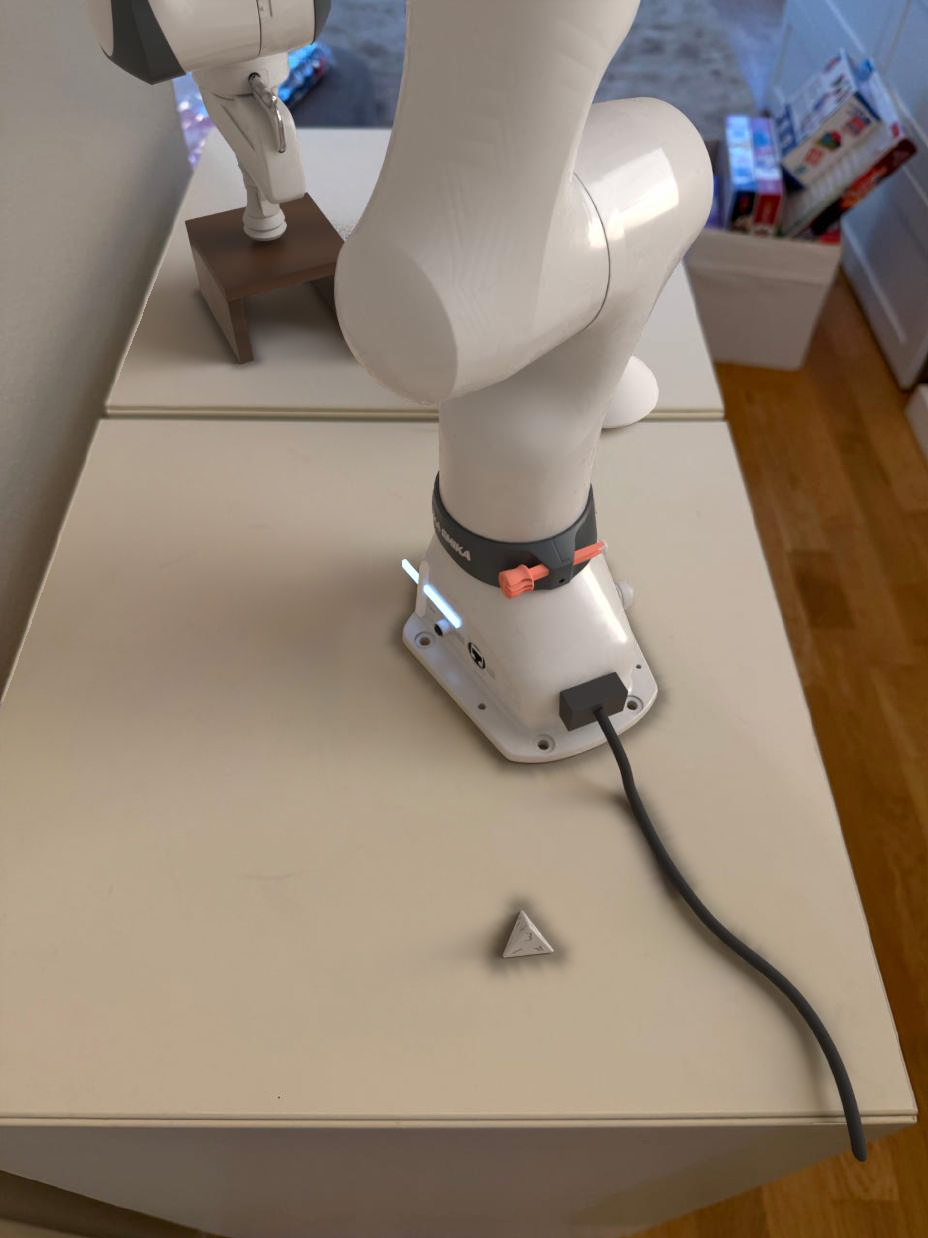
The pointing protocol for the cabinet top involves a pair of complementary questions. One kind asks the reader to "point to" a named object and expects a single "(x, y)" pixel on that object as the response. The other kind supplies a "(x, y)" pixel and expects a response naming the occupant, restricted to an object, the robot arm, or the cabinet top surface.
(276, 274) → the shelf
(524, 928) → the tetrahedral die
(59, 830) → the cabinet top surface
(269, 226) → the rook chess piece
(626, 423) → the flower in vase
